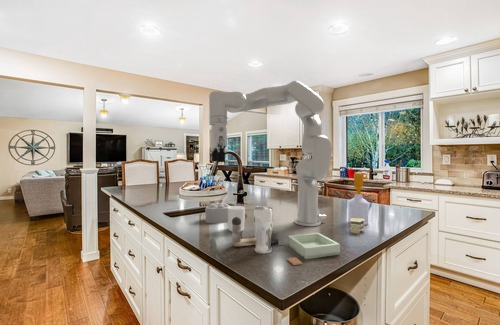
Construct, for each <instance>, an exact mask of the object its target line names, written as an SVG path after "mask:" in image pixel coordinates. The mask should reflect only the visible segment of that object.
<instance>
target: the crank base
mask: <svg viewBox="0 0 500 325" xmlns="http://www.w3.org/2000/svg"><path fill="white" fill-rule="evenodd" d="M286 245H287V244H286V243H285V242H284V241H282V240H281V239H280V238H279V242H278V243H271V248H272V247H279V246H281V247H282V246H286ZM286 259H287V261H288V262H289V263H290V264H291V265H292V266H299V265H302V264H303V262H302V261H301V260H300V259H299V258H298V257H288V258H286Z"/></svg>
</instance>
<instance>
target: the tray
mask: <svg viewBox="0 0 500 325" xmlns="http://www.w3.org/2000/svg"><path fill="white" fill-rule="evenodd" d="M287 246H288V247H290V248H291V249H292V250H293V251H295V252H296V253H297V254H298V255H300V256H301V257H302V258H303V259H305V260H309V259H316V258H317V259H319V258H323V257H331V256H339V255H340V254H341V244H340V243H338V242H337V241H335V240H333V239H331V238H329V237H327V236H326V235H323V234H321V233H320V232H312V233H303V234H301V233H300V234H293V235H288V236H287Z"/></svg>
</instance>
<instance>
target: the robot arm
mask: <svg viewBox="0 0 500 325" xmlns="http://www.w3.org/2000/svg"><path fill="white" fill-rule="evenodd" d="M208 97H209V103H208V104H209V105H208V106H209V108H208V109H209V114H208V115H209V116H208V117H209V118H208V119H209V122H208V123H209V126H211V130H210V132H211V133H210V134H211V136H210V138H211V139H210V144H211V148H212V149H211V161H212V162H217V163H225V162H226V148H227V147H228V136H227V135H228V133H227V126H228V112H229V113H232V114H235V113H242V112H247V111H253V110H260V109H263V108H269V107H275V106H282V105H283V106H284V105H288V104H292V103H294V102H297V103H296V104H295V106H294V109H295V110H294V111H295V114H296V115H297V116H298V118H299V119H300V120H301V122H302V125H303V133H302V141H301V151H302V153H303V154H304V155H305V156H307V157H311V158H303V159H301V160H299V161H298V162H297V165H296V168H295V170H296V177H297V218H295V219H294V224H295V225H298V226H302V227H303V226H304V227H319V226H320V225H321V224H322V223H321V220H323V219H324V220H325V219H327V215H326V214H321V213H319V212H318V211H319V210H318V209H319V206H318V205H319V203H318V202H319V201H318V200H319V197H318V196H319V195H318V193H319V185H318V184H319V183H318V182H317V180H319V181H320V180H324V179H325V178H327V176H328V174H329V172H330V167H331V159H332V158H331V157H332V149H333V148H332V142H331V140H330V139H329V137H327V136H326V135H324V134H323V135H322V129H323V128H322V126H323V125H322V121H321V119H320V117H319V116H318V115H319V114H321V113H322V112H323V111H324V108H325V103H324V100H323V98H322V97H321V96H320V95H319V94H318V93H316V92H315V91H313V89H311V88H310V87H308V86H307V85H306V84H304V83H302V82H301V81H299V80H293V81H291V82H289V83H286V84H283V85H276V86H269V87H262V88H260V89H258V90H255V91H253V92H250V93H245V94H244V93H243V92H241V91H228V92H227V91H220V90H215V91H210V93H209V95H208Z"/></svg>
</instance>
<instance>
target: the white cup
mask: <svg viewBox="0 0 500 325" xmlns="http://www.w3.org/2000/svg"><path fill="white" fill-rule="evenodd" d="M227 209H228V222H227V223H228V231H230V232H232V219H233V218H234V217H239V218H240V219H241V232H242V231H244V230H245V218H246V216H245V215H246V206H243V205H229V207H228V208H227Z"/></svg>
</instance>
